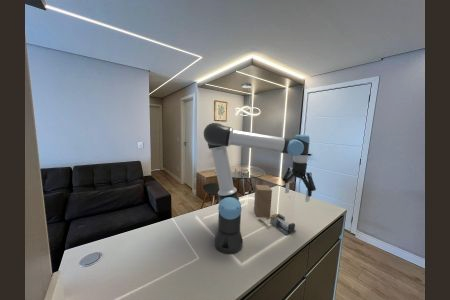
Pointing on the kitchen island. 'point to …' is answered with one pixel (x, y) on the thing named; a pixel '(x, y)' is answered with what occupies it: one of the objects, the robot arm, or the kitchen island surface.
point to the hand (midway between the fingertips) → (296, 196)
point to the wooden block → (262, 200)
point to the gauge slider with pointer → (284, 224)
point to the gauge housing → (276, 224)
